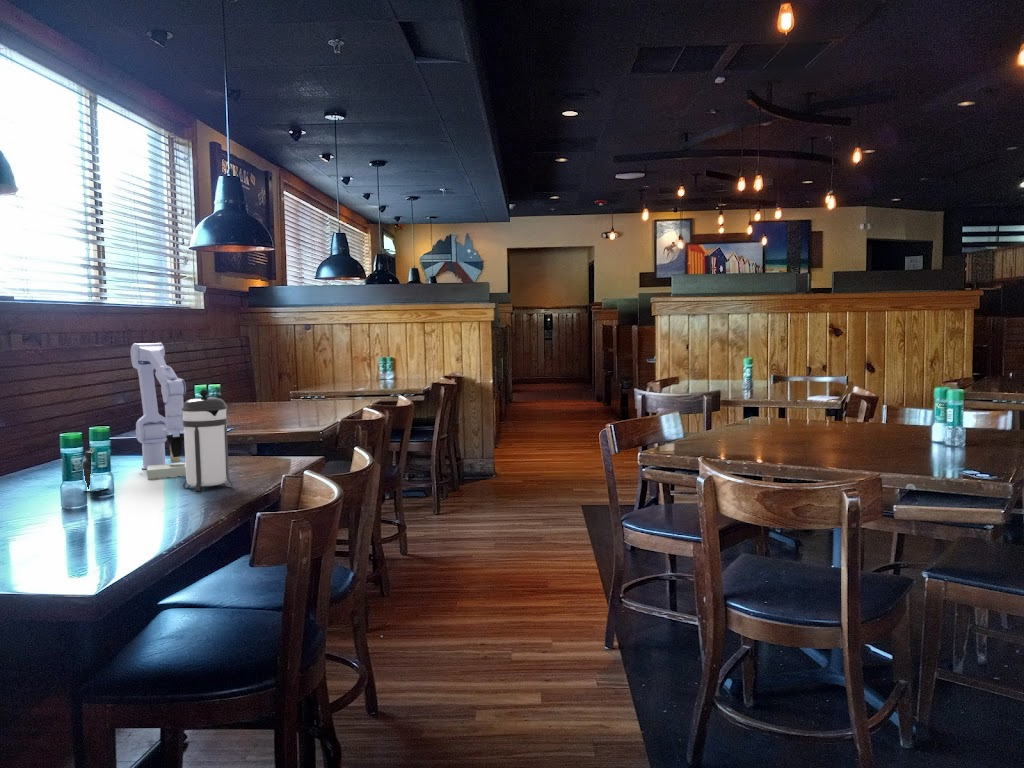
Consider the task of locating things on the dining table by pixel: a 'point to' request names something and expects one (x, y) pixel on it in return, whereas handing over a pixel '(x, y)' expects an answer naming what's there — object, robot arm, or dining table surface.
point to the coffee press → (205, 442)
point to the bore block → (166, 470)
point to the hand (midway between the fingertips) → (176, 456)
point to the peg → (174, 459)
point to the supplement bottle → (87, 467)
